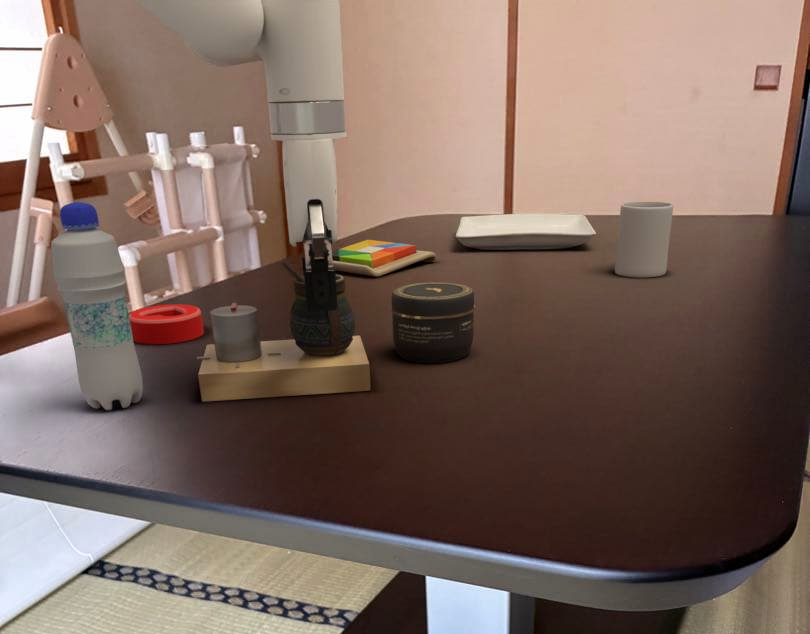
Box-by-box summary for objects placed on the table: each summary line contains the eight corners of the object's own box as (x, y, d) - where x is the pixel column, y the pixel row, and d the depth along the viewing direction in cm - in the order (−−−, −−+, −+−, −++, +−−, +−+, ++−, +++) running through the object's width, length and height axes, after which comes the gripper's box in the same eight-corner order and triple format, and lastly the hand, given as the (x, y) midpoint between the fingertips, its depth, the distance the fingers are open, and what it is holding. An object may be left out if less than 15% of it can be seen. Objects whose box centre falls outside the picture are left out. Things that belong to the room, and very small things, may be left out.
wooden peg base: (196, 402, 89) (191, 373, 87) (205, 369, 99) (201, 343, 98) (370, 390, 91) (369, 362, 89) (361, 360, 101) (360, 334, 100)
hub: (261, 360, 91) (256, 311, 89) (214, 363, 91) (208, 314, 88) (262, 348, 95) (257, 301, 93) (217, 351, 95) (211, 303, 92)
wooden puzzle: (302, 269, 155) (300, 249, 153) (371, 254, 167) (370, 235, 166) (371, 279, 145) (370, 258, 143) (439, 262, 157) (439, 242, 156)
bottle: (128, 389, 93) (92, 196, 84) (159, 402, 89) (124, 200, 80) (71, 404, 89) (26, 203, 80) (101, 418, 85) (56, 208, 75)
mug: (668, 277, 139) (677, 207, 134) (616, 277, 140) (622, 207, 135) (660, 264, 150) (667, 198, 144) (611, 264, 151) (617, 199, 146)
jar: (418, 338, 109) (417, 278, 105) (487, 347, 104) (489, 285, 101) (377, 358, 101) (374, 294, 98) (450, 369, 97) (450, 302, 93)
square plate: (460, 232, 189) (461, 214, 188) (583, 231, 187) (584, 212, 185) (455, 253, 166) (455, 232, 164) (595, 251, 163) (597, 230, 161)
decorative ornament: (203, 324, 119) (200, 301, 118) (204, 340, 111) (201, 316, 110) (133, 329, 118) (129, 306, 116) (129, 346, 109) (125, 322, 108)
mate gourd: (368, 353, 93) (364, 259, 88) (306, 364, 89) (298, 268, 85) (339, 339, 98) (333, 250, 94) (279, 350, 95) (270, 258, 90)
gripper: (270, 121, 90) (285, 287, 99) (268, 126, 75) (286, 322, 83) (340, 119, 91) (349, 283, 99) (351, 124, 76) (361, 318, 84)
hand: (320, 300), depth 91 cm, fingers open, 8 cm apart
